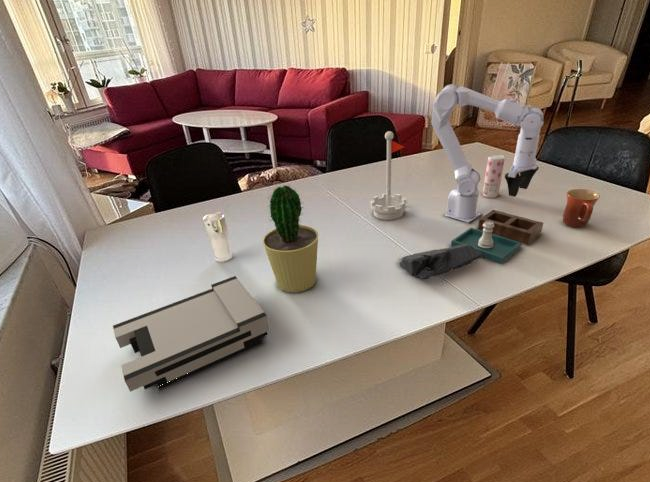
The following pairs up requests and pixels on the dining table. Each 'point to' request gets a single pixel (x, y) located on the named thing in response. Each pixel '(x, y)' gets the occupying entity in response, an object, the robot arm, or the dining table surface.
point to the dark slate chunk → (439, 260)
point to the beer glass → (218, 235)
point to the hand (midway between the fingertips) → (517, 192)
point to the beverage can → (493, 176)
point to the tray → (497, 253)
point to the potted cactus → (290, 243)
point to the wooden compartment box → (512, 226)
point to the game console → (191, 335)
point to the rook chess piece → (486, 236)
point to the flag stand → (389, 190)
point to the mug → (579, 207)
